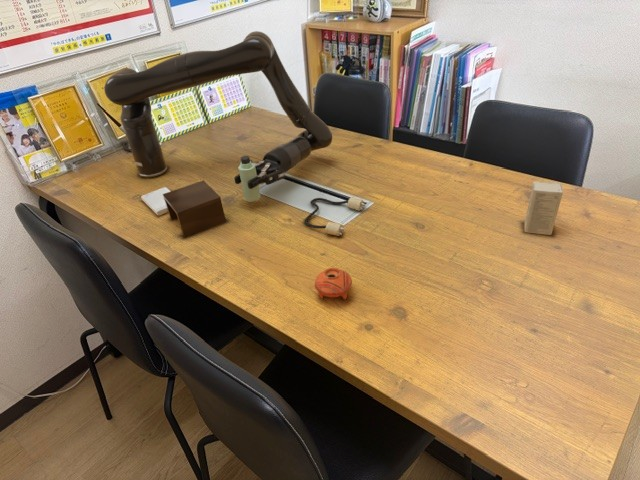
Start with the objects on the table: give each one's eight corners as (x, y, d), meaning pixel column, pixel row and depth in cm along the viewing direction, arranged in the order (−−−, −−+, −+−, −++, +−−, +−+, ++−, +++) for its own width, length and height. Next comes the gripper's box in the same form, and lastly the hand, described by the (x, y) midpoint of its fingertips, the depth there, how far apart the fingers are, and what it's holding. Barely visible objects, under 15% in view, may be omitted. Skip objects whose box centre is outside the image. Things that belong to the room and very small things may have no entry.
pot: (327, 312, 92) (320, 284, 89) (313, 296, 99) (307, 270, 96) (361, 298, 94) (355, 271, 92) (345, 283, 101) (340, 257, 98)
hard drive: (140, 196, 135) (156, 211, 127) (166, 186, 139) (182, 200, 131) (142, 200, 136) (158, 216, 128) (167, 190, 140) (184, 205, 132)
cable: (288, 227, 119) (287, 216, 117) (316, 198, 130) (315, 187, 128) (341, 240, 113) (340, 229, 110) (366, 208, 124) (366, 197, 122)
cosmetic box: (550, 226, 111) (562, 183, 104) (551, 236, 108) (564, 192, 101) (523, 222, 113) (533, 180, 106) (523, 232, 110) (533, 189, 103)
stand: (170, 218, 127) (162, 194, 122) (209, 204, 132) (203, 180, 127) (184, 237, 118) (177, 212, 114) (226, 221, 123) (220, 196, 119)
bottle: (242, 197, 129) (233, 157, 121) (256, 191, 131) (248, 152, 123) (249, 203, 126) (240, 163, 118) (263, 198, 127) (256, 157, 120)
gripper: (263, 142, 135) (221, 165, 124) (299, 152, 127) (258, 177, 117) (267, 164, 139) (227, 188, 129) (302, 175, 132) (263, 202, 121)
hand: (242, 183), depth 123 cm, fingers closed on bottle, 4 cm apart
